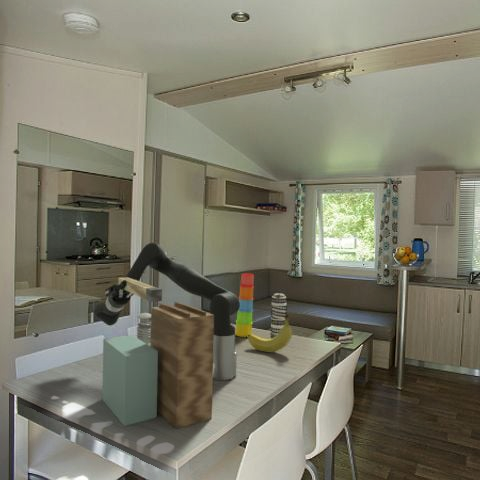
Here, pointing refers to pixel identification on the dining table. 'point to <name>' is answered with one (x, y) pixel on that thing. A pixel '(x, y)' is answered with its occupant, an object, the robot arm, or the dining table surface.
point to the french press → (144, 328)
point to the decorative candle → (277, 313)
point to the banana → (274, 343)
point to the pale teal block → (130, 379)
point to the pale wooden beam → (142, 289)
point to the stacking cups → (245, 306)
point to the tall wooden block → (183, 362)
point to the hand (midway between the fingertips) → (131, 282)
